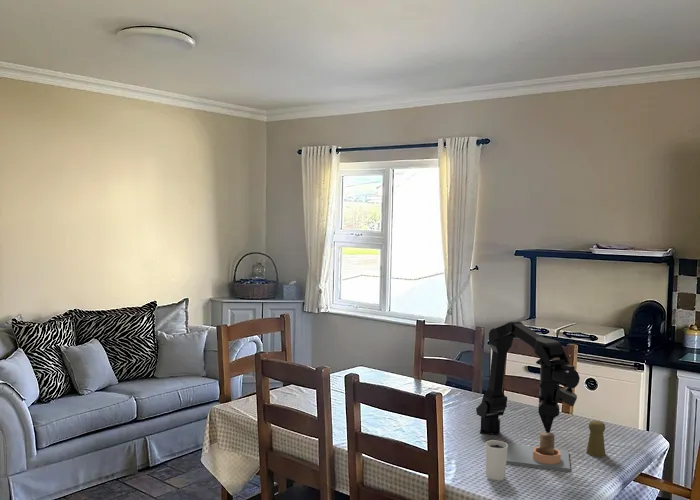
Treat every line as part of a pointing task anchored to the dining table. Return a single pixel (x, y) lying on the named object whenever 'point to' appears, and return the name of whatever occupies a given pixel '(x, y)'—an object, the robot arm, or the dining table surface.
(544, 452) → the walnut cylinder
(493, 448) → the white cup
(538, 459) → the terracotta ring
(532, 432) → the dining table surface
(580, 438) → the dining table surface
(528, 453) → the slate board
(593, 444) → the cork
